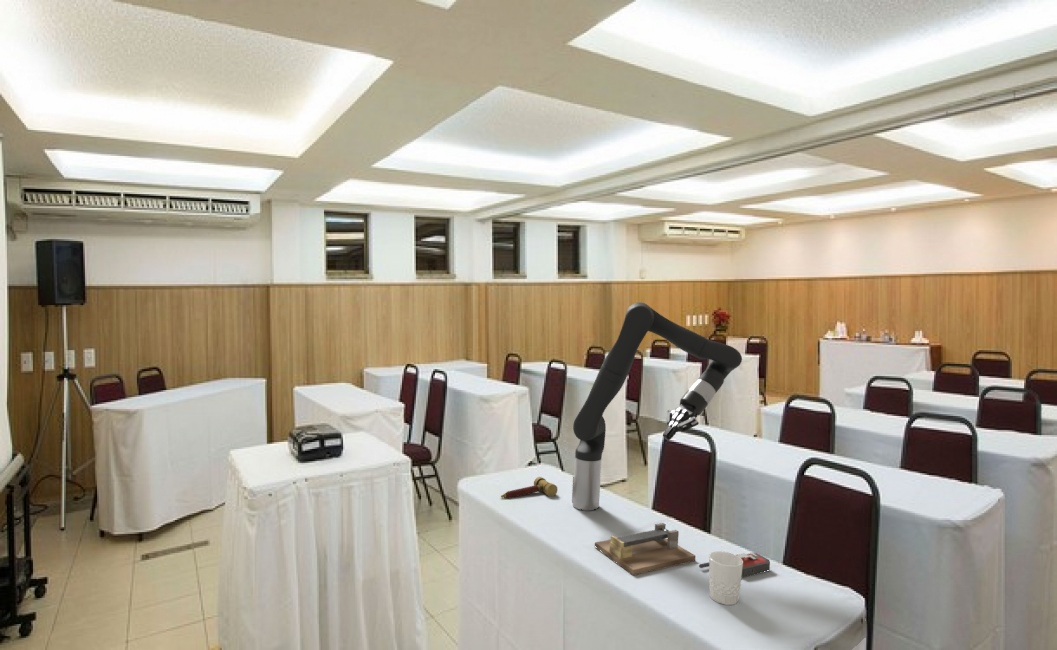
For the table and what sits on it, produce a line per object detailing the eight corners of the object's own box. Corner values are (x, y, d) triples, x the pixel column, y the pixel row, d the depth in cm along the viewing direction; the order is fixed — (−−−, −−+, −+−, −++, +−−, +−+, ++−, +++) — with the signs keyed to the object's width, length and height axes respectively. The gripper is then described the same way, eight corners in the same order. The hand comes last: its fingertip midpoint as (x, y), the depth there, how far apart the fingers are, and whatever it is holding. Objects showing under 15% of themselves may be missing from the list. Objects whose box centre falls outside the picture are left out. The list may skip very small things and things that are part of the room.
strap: (615, 542, 159) (615, 536, 159) (664, 532, 167) (664, 526, 167) (623, 548, 156) (623, 541, 156) (672, 537, 164) (673, 531, 164)
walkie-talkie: (749, 557, 163) (696, 569, 155) (750, 543, 163) (697, 553, 154) (774, 571, 155) (719, 584, 147) (775, 556, 155) (720, 567, 146)
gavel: (507, 494, 197) (494, 486, 206) (507, 507, 197) (495, 498, 206) (557, 483, 207) (543, 475, 216) (557, 495, 208) (543, 487, 216)
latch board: (594, 547, 165) (595, 525, 164) (653, 535, 175) (654, 515, 175) (633, 575, 149) (634, 551, 148) (695, 560, 159) (696, 538, 159)
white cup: (722, 609, 134) (725, 568, 134) (700, 592, 141) (702, 553, 141) (747, 603, 137) (750, 563, 137) (724, 587, 144) (726, 549, 144)
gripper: (677, 385, 182) (645, 425, 177) (707, 392, 171) (674, 435, 166) (688, 401, 185) (657, 440, 180) (719, 409, 173) (686, 451, 168)
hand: (665, 438), depth 173 cm, fingers closed
